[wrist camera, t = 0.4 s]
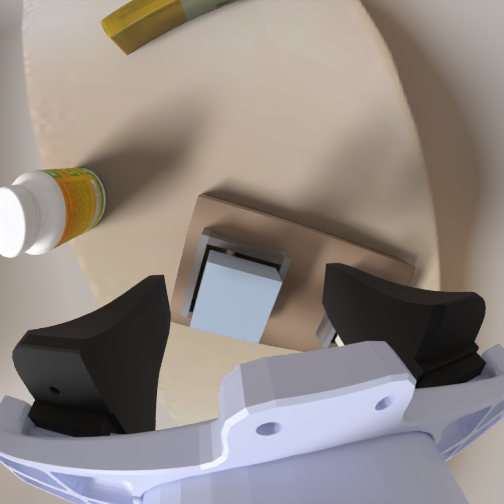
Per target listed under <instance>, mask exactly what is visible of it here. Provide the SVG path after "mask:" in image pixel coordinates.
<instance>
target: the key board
mask: <svg viewBox="0 0 504 504" xmlns="http://www.w3.org/2000/svg"><path fill="white" fill-rule="evenodd" d="M210 250H213V251H217V252H220V253H224V254H227V255H231V256H234V257H238V258H241V259H245V260H248V261H252V262H256V263H259V264H263V265H266V266H270V267H273V268H276V270H277V272H278V274H279V276H280V278H281V280H282V285H281V287H280V290H279V293H278V295H277V298H276V300H275V303H274V306H273V308H272V311H271V313H270V316H269V318H268V321H267V323H266V326H265V328H264V331H263V333H262V336H261V338H260V341H259V343H260V344H265V345H270V346H275V347H280V348H285V349H291V350H297V351H302V352H309V351H316V350H322V349H328V348H333V347H339V346H338V345H337V343H336V341H335V339H336V337H337V335H338V334H337V332H336V331H335V329H334V327H333V326H332V324H331V322H330V320H329V319H328V316H327V314H326V311H325V309H324V306H323V304H322V299H323V289H324V279H325V268H326V264H327V263H342V264H346V265H349V266H351V267H354V268H356V269H359V270H361V271H364V272H366V273H369V274H371V275H374V276H376V277H379V278H382V279H385V280H388V281H391V282H394V283H397V284H401V285H405V286H408V284H409V281H410V279H411V277H412V274H413V272H414V270H415V267H413V266H411V265H410V264H408V263H406V262H405V261H403V260H400V259H398V258H395V257H392V256H390V255H387V254H384V253H381V252H379V251H376V250H373V249H371V248H368V247H365V246H362V245H360V244H357V243H354V242H351V241H348V240H345V239H343V238H340V237H337V236H334V235H331V234H328V233H325V232H322V231H319V230H316V229H313V228H310V227H307V226H304V225H301V224H298V223H295V222H292V221H289V220H286V219H283V218H280V217H277V216H274V215H270V214H267V213H264V212H261V211H258V210H254V209H251V208H248V207H245V206H241V205H238V204H235V203H231V202H228V201H225V200H221V199H218V198H214V197H211V196H207V195H204V194H200V195H199V196H198V198H197V202H196V205H195V209H194V212H193V216H192V220H191V223H190V227H189V231H188V234H187V238H186V242H185V246H184V250H183V254H182V258H181V262H180V266H179V270H178V274H177V279H176V283H175V287H174V292H173V296H172V301H171V305H170V311H171V322H174V323H178V324H181V325H185V326H189V327H190V324H191V320H192V315H193V311H194V307H195V303H196V299H197V295H198V292H199V288H200V284H201V281H202V277H203V273H204V270H205V266H206V263H207V259H208V256H209V252H210Z"/></svg>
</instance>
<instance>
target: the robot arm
mask: <svg viewBox="0 0 504 504" xmlns="http://www.w3.org/2000/svg"><path fill="white" fill-rule="evenodd" d="M322 304H323V306H324V309H325V311H326V314H327V316H328V319H329V320H330V322H331V324H332V326H333V327H334V329H335V331H336V332H337V334H338V336H339V337H340V339H341V341H342V342H343V344H344V346H339V347H333V348H328V349H322V350H316V351H309V352H302V353H295V354H288V355H279V356H271V357H264V358H261V359H257V360H254V361H250V362H247V363H243V364H240V365H239V366H237V367H236V368H235V369H234V370H232V371H231V372H230V373H229V374H227V375H226V376H225V377H224V378H223V380H222V383H221V387H220V391H219V409H220V417H219V418H216V419H212V420H208V421H204V422H199V423H195V424H190V425H185V426H180V427H175V428H170V429H163V430H157V431H155V426H156V425H155V422H156V420H155V419H156V399H157V387H158V377H159V372H160V367H161V363H162V359H163V355H164V351H165V347H166V343H167V339H168V335H169V330H170V321H171V311H170V306H169V301H168V296H167V290H166V285H165V279H164V275H151V276H149V277H147V278H145V279H144V280H142V281H141V282H139V283H138V284H137V285H135V286H134V287H132V288H131V289H130V290H128V291H127V292H125V293H124V294H122V295H121V296H119V297H118V298H116V299H115V300H113V301H112V302H110V303H108V304H107V305H105V306H103V307H101V308H99V309H98V310H96V311H93V312H92V313H89V314H87V315H84V316H82V317H79V318H77V319H74V320H71V321H68V322H65V323H62V324H58V325H55V326H50V327H46V328H40V329H34V330H28V331H27V332H26V334H25V335H24V336H23V337H22V339H21V340H20V341H19V343H18V344H17V345H16V347H15V349H14V350H13V357H12V358H13V362H14V366H15V368H16V370H17V372H18V374H19V376H20V378H21V379H22V381H23V382H24V384H25V385H26V387H27V388H28V390H29V392H30V393H31V394H32V396H33V397H34V399H35V401H34V403H33V405H32V406H31V405H29V404H28V403H27V402H25V401H22V400H19V399H16V398H13V397H10V396H4V398H3V400H2V402H1V403H0V462H1V463H2V464H3V465H4V466H6V467H7V468H8V469H9V470H10V471H11V472H13V473H14V474H15V475H16V476H17V477H19V478H20V479H21V480H23V481H24V482H27V483H29V484H31V485H33V486H35V487H37V488H39V489H42V490H44V491H46V492H48V493H50V494H53V495H55V496H58V497H60V498H63V499H65V500H68V501H70V502H72V503H75V504H469V503H468V501H467V499H466V497H465V495H464V493H463V491H462V490H461V488H460V486H459V484H458V483H457V481H456V479H455V477H454V475H453V474H452V472H451V470H450V469H449V467H448V465H447V463H446V461H448V460H449V459H451V458H452V457H454V456H455V455H456V454H458V453H459V452H461V451H462V450H463V449H465V448H466V447H467V446H469V445H470V444H471V443H472V442H474V441H475V440H476V439H478V437H480V436H481V435H482V434H484V433H485V432H486V431H488V430H489V429H490V428H491V427H492V426H494V425H495V424H496V423H497V422H499V421H500V420H501V419H502V418H503V417H504V348H503V347H502V346H501V345H500V344H497V345H495V346H494V347H492V348H490V349H488V350H487V351H485V352H484V353H483V354H482V355H481V357H480V356H479V355H478V354H477V352H476V351H478V349H479V347H478V345H477V344H476V343H475V342H474V341H475V339H476V337H477V334H478V332H479V330H480V327H481V325H482V322H483V319H484V316H485V310H486V307H485V301H484V299H483V298H482V297H481V296H479V295H478V294H477V293H475V292H441V291H431V290H424V289H418V288H413V287H409V286H405V285H401V284H397V283H394V282H391V281H388V280H385V279H382V278H379V277H376V276H374V275H371V274H369V273H366V272H364V271H361V270H359V269H356V268H354V267H351V266H349V265H346V264H342V263H327V264H326V268H325V279H324V289H323V299H322Z"/></svg>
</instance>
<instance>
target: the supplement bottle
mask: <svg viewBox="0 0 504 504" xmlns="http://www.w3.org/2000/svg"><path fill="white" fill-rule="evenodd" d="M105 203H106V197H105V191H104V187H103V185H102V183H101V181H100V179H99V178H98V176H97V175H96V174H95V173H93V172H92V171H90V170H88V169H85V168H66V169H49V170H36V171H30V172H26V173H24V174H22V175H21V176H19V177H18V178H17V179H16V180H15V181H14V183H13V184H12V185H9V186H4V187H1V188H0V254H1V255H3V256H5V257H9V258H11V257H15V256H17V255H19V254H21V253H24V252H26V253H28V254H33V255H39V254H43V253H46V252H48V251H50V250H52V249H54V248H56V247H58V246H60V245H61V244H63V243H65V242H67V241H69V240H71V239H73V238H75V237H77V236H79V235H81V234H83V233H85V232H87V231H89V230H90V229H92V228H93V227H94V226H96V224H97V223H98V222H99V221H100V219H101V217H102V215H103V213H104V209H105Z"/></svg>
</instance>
